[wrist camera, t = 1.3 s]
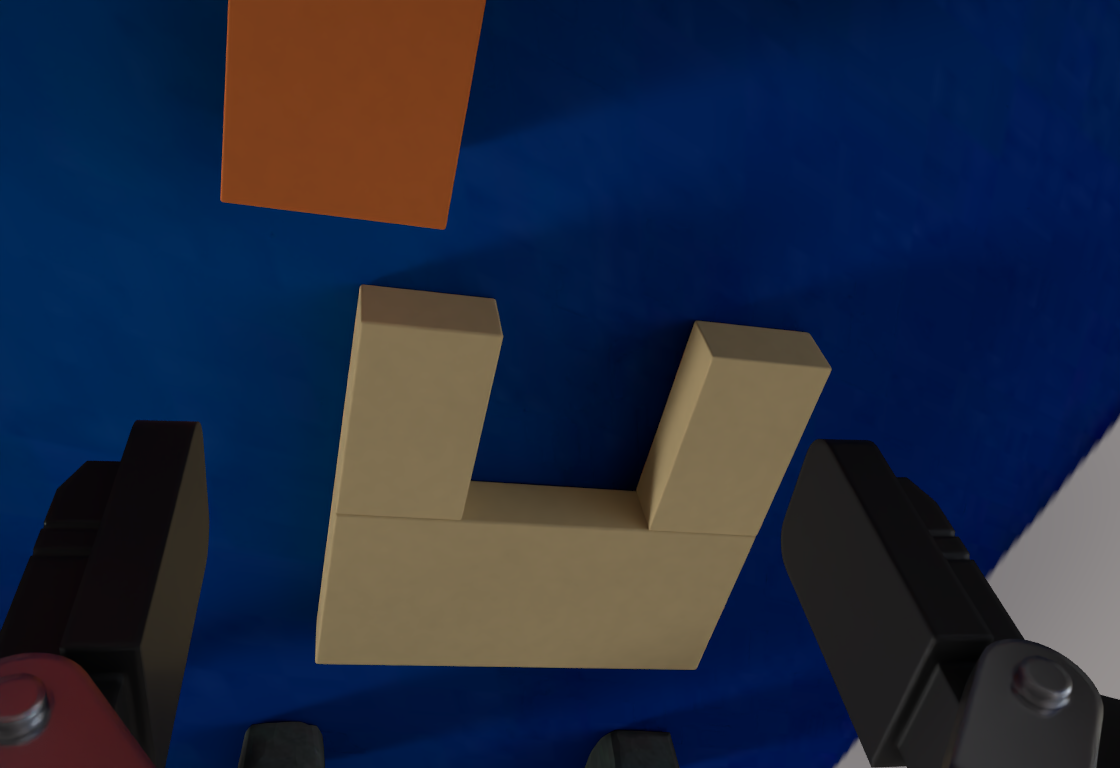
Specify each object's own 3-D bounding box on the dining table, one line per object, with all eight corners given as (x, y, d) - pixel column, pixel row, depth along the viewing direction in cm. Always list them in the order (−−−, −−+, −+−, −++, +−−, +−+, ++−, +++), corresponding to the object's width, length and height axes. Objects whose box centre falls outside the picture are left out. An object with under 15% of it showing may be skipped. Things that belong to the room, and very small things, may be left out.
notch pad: (316, 619, 37) (314, 665, 35) (360, 283, 29) (360, 321, 27) (683, 629, 40) (696, 670, 39) (809, 332, 33) (832, 368, 31)
